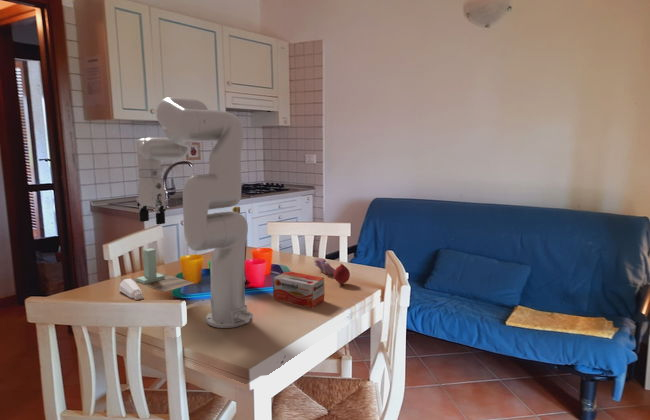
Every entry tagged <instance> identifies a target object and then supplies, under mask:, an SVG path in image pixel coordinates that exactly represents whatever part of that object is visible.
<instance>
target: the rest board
mask: <svg viewBox="0 0 650 420" xmlns="http://www.w3.org/2000/svg"><path fill="white" fill-rule="evenodd" d="M157 273H158V274H162V275H164V277H165V279H161V280H158V281H154V282H150V283H147V284H143V283H140V282H137V281H136V278H134V279H132V280H133V281H135V283H138V284H141V285H143V286H146V287H150V288H152V289H154V290H157V291H161V292H163V293H167V292H170V291H173V290H177V289H180V288H183V287H186V286H190V285H193V284H194V282H192V281H189V280H186V279H182V278H180V277H176V276H174V275H170V274H166V273H164V272H157Z"/></svg>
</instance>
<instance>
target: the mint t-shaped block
mask: <svg viewBox="0 0 650 420" xmlns="http://www.w3.org/2000/svg"><path fill="white" fill-rule="evenodd" d="M142 255H143V257H142V259H143V260H142V261H143V276H140V277H139V276H138V277H136V278H135V279H136V281H137V282H136V283H138V282H140V283H143V284H147V283H150V282H154V281H158V280H161V279H165V277H164V275H162V274H158V273H159V272H157V256H156V255H157V254H156V249H155V248H153V247H151V248H150V247H149V248H145V249H143V250H142ZM140 283H139V284H140ZM143 284H142V285H143Z"/></svg>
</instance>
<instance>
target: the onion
mask: <svg viewBox="0 0 650 420" xmlns="http://www.w3.org/2000/svg"><path fill="white" fill-rule="evenodd" d="M334 269H335V271H334V275H333V278H334V279H335V281H336V282H337V283H338V284H339V285H341V286H342V285H344V284H346V283H347V282H349V279H350V276H351V274H350V270H349V268H347V266H346V265H344V264H343V263H340V264H339V265H338V266H337V267H336V268H334Z"/></svg>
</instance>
